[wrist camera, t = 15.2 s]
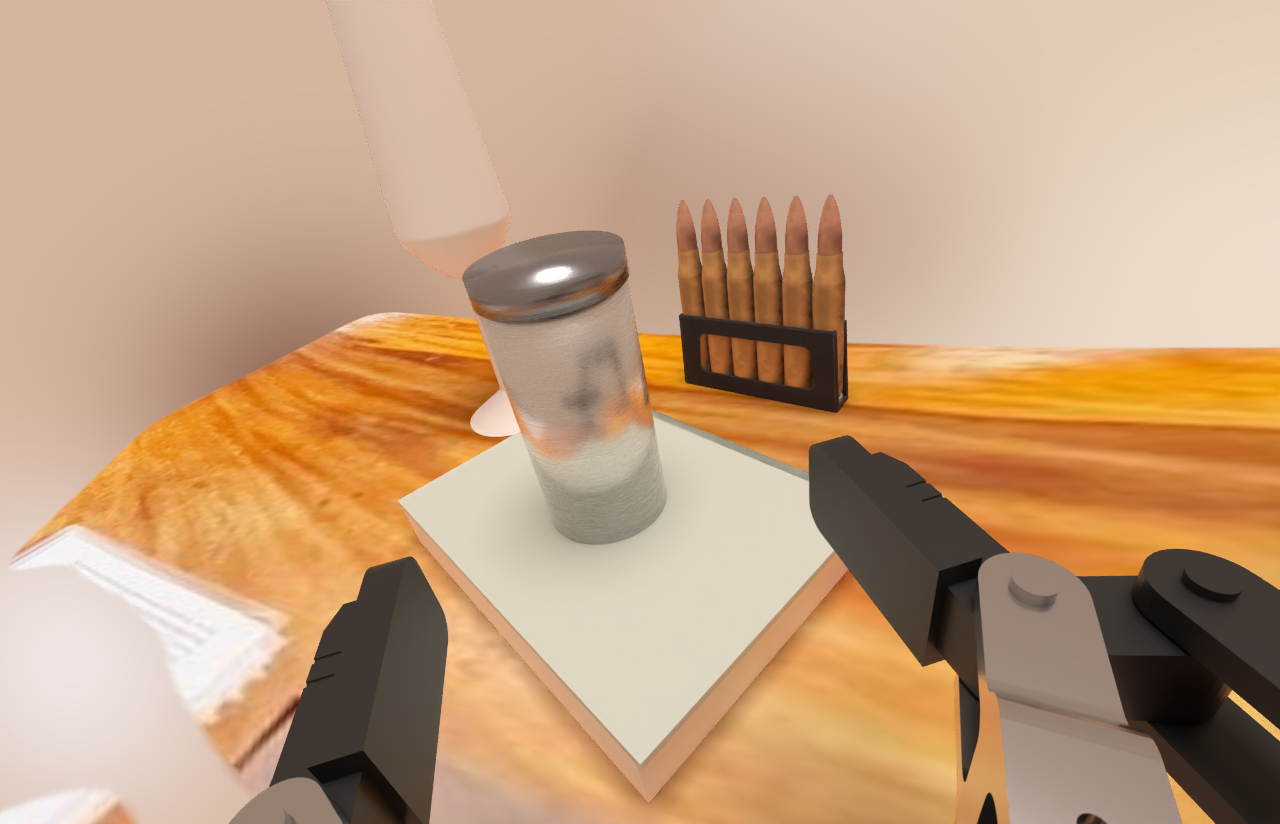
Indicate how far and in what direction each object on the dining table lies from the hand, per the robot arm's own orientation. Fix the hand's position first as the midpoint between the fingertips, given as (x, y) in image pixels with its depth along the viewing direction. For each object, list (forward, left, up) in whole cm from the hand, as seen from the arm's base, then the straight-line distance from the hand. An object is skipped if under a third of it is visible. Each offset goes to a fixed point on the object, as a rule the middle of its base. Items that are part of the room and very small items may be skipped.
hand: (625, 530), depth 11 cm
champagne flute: (-9, -25, -11) cm, 29 cm away
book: (-5, -9, -11) cm, 15 cm away
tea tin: (-5, -9, -8) cm, 13 cm away
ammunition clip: (-20, -12, -11) cm, 26 cm away
